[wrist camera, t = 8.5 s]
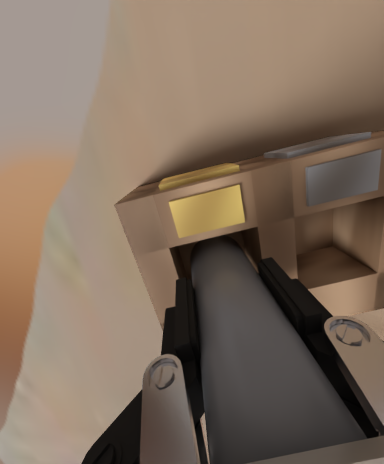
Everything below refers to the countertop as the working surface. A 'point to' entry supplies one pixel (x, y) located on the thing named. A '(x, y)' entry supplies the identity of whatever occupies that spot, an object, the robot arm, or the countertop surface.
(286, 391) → the peg
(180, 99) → the countertop surface
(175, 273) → the socket block
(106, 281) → the countertop surface
